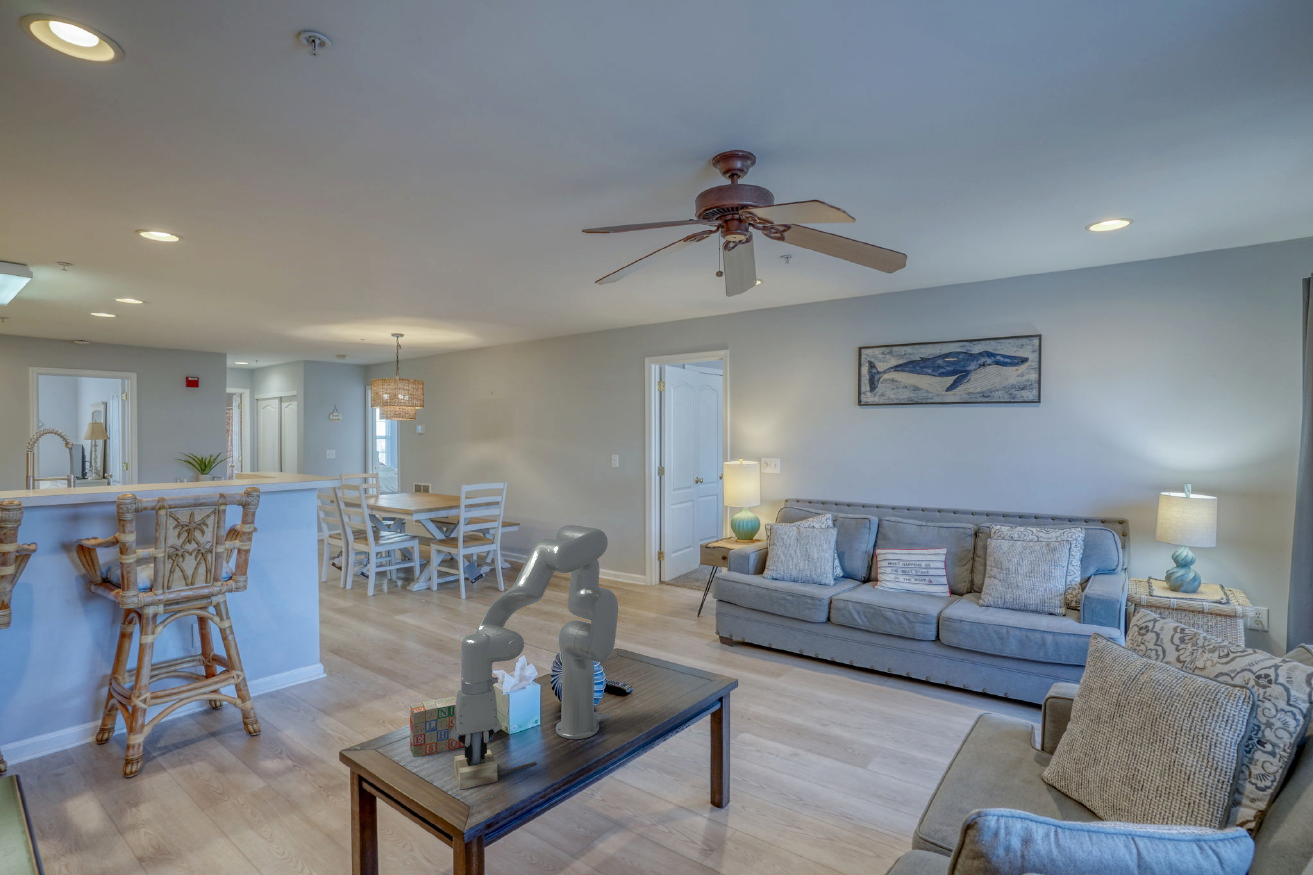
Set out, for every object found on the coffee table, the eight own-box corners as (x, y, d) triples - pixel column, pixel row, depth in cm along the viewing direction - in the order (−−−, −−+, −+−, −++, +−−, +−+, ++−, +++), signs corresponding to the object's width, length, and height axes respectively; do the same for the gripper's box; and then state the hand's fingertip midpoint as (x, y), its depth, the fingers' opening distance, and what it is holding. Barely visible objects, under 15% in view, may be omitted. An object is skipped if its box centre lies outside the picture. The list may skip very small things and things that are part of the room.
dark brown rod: (534, 763, 167) (534, 761, 167) (536, 764, 166) (536, 762, 166) (498, 774, 161) (498, 772, 161) (499, 775, 160) (499, 773, 160)
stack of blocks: (487, 732, 185) (488, 689, 185) (493, 741, 179) (493, 697, 179) (409, 748, 175) (410, 703, 175) (412, 758, 169) (413, 711, 169)
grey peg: (479, 770, 162) (480, 723, 162) (481, 775, 159) (482, 727, 159) (469, 772, 160) (469, 725, 161) (471, 777, 158) (471, 729, 158)
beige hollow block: (489, 764, 166) (489, 749, 166) (497, 781, 158) (497, 765, 158) (453, 772, 162) (454, 756, 162) (459, 789, 154) (460, 773, 154)
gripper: (505, 675, 167) (504, 745, 167) (441, 685, 160) (440, 758, 160) (512, 685, 160) (511, 758, 160) (445, 695, 153) (444, 772, 153)
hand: (475, 757), depth 160 cm, fingers closed on grey peg, 2 cm apart
